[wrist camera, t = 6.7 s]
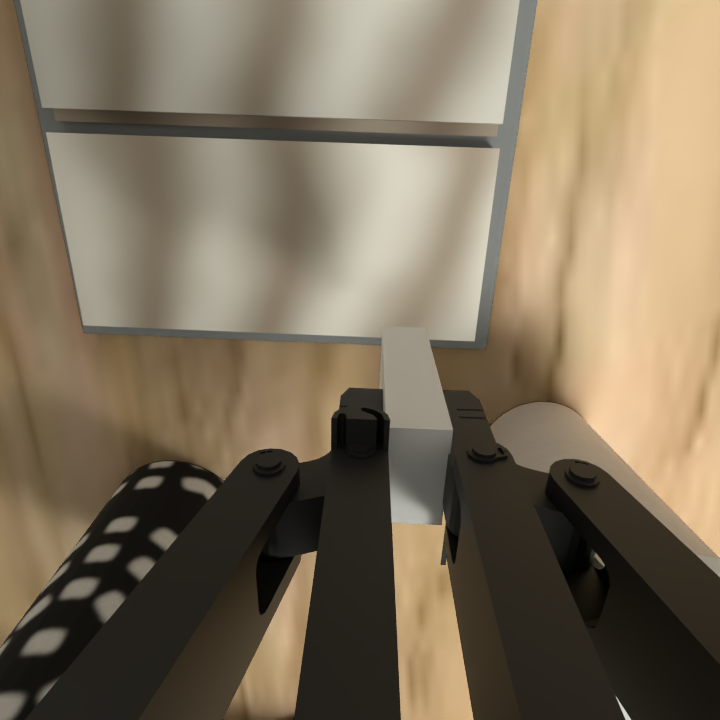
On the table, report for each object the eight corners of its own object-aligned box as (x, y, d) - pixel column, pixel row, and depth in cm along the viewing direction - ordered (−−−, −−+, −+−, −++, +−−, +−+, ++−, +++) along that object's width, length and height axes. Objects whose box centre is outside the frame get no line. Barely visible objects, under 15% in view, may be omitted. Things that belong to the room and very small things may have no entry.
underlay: (86, 331, 27) (83, 333, 27) (-21, -186, 19) (-26, -191, 18) (484, 347, 27) (485, 349, 27) (560, -170, 18) (563, -175, 18)
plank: (95, 318, 26) (83, 325, 25) (61, 133, 23) (45, 132, 22) (470, 333, 26) (474, 341, 25) (493, 148, 23) (500, 148, 22)
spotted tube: (227, 455, 30) (7, 926, 12) (255, 556, 34) (114, 1044, 16) (99, 466, 31) (-294, 930, 13) (138, 564, 34) (-129, 1042, 16)
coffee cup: (440, 398, 28) (502, 637, 15) (611, 360, 27) (852, 583, 13) (470, 523, 32) (541, 808, 18) (622, 495, 31) (819, 778, 17)
